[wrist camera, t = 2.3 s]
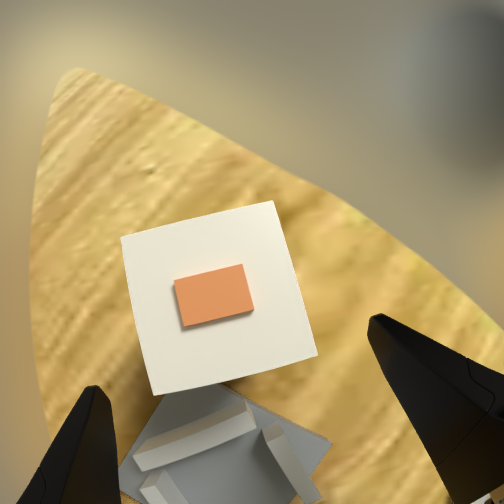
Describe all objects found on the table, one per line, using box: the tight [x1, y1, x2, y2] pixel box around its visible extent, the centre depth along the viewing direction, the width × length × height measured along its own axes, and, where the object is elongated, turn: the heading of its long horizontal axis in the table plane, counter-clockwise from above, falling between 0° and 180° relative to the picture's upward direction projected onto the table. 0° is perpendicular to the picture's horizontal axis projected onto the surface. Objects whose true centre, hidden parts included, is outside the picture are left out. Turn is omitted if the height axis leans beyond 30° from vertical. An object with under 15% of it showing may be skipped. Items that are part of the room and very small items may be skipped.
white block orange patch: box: [121, 200, 318, 396], centre depth 13 cm, size 4×4×11 cm
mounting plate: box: [118, 383, 332, 504], centre depth 14 cm, size 10×10×4 cm
